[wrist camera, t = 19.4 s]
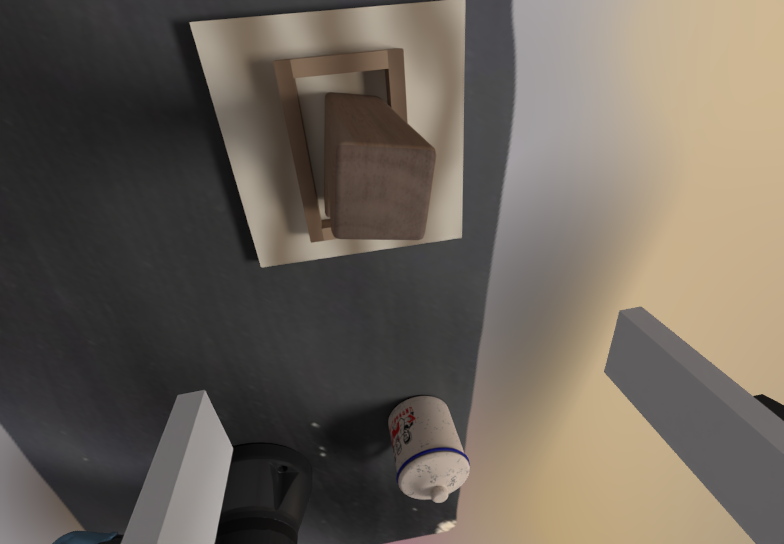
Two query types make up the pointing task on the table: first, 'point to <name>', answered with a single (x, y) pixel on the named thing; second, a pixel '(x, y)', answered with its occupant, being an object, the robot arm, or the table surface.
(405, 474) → the teacup with lid
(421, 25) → the keyed plate
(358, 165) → the wooden block
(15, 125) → the table surface
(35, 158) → the table surface
